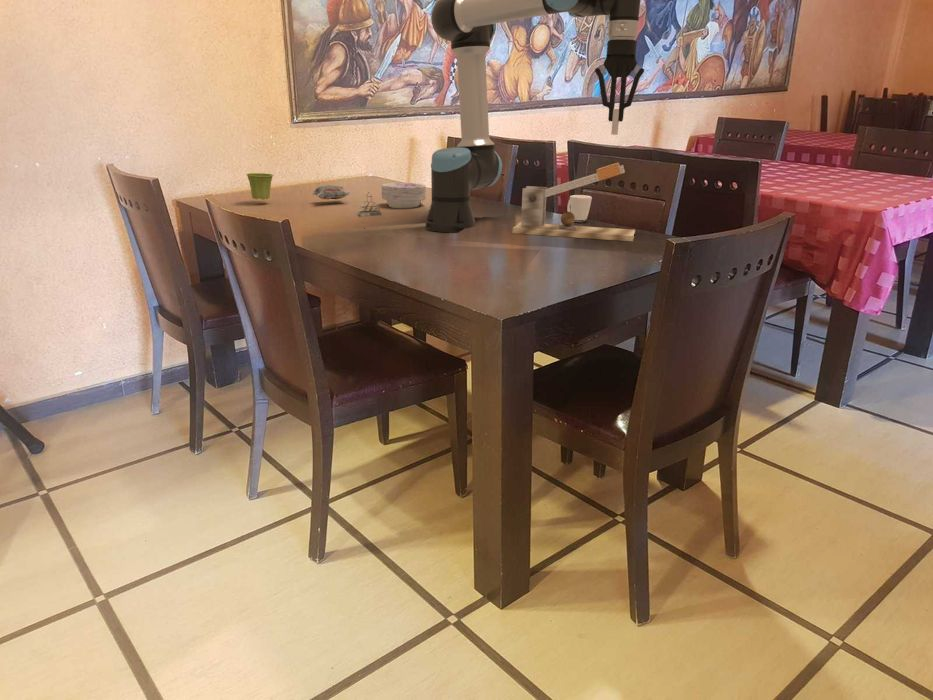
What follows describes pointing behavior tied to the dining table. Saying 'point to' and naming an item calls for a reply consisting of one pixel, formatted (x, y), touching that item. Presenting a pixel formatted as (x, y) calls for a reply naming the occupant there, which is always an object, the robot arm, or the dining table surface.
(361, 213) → the house of cards
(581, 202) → the cup
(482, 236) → the dining table surface
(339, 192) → the packaged food
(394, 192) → the paper bowls
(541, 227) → the press base
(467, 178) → the robot arm
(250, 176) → the plant pot
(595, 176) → the lever
